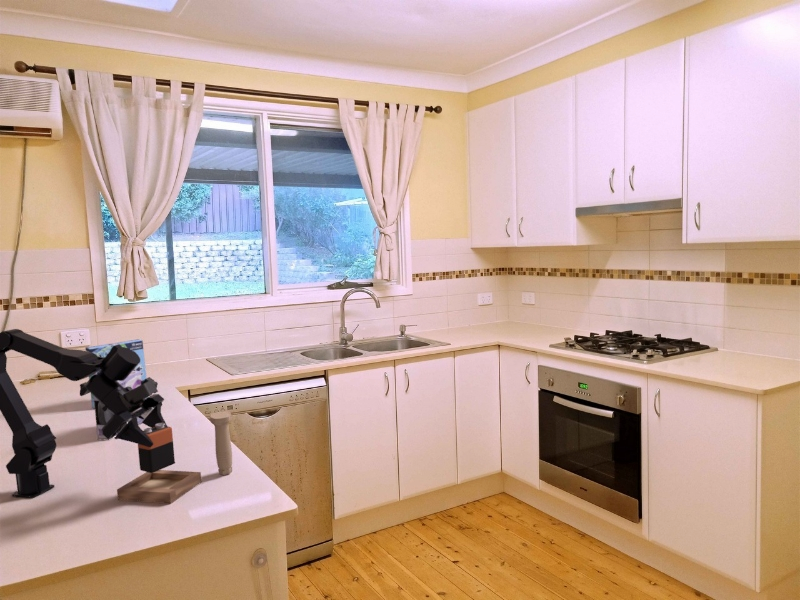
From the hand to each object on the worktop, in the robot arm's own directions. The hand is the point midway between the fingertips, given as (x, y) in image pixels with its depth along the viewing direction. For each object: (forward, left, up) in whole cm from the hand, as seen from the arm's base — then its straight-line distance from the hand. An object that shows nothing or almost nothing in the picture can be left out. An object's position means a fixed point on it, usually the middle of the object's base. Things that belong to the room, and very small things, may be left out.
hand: (160, 439), depth 141 cm
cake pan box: (-45, +40, -13) cm, 62 cm away
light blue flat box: (-71, +71, -13) cm, 101 cm away
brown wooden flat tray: (-1, 0, -12) cm, 12 cm away
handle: (+9, +12, -13) cm, 19 cm away
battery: (-1, 0, -7) cm, 7 cm away
